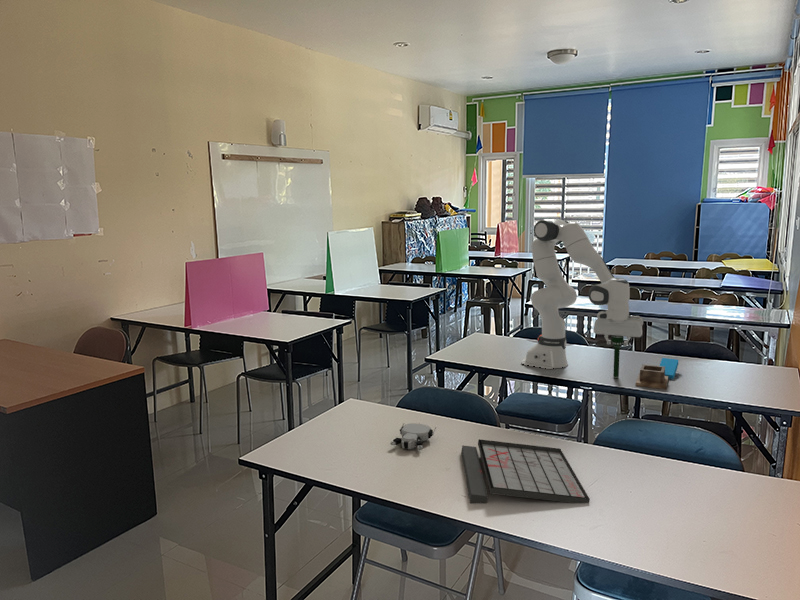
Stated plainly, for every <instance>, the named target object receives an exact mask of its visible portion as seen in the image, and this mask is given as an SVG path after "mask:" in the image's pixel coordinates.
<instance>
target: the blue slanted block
mask: <svg viewBox="0 0 800 600" xmlns="http://www.w3.org/2000/svg"><path fill="white" fill-rule="evenodd" d="M659 366H663V367H665V376H668V378H669V379H668V380H674V378H675V376H676V373H677V370H678V366H679V359H676V358H667V357H666V358H665V357H662V358H661V360H660V363H659Z"/></svg>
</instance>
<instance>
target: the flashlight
mask: <svg viewBox="0 0 800 600" xmlns="http://www.w3.org/2000/svg"><path fill="white" fill-rule="evenodd" d="M610 336H611V337H610V340H611V343H612V345H613V346H614V349H613V350H614V351H613V354H614V355H613V376H612V377H613V379H614V380H619V373H620V349H621V348H620V347H621V346H622V345H623V344H624V341H625V340H624V337H625V336H617V335H610Z"/></svg>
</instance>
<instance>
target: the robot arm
mask: <svg viewBox="0 0 800 600" xmlns="http://www.w3.org/2000/svg"><path fill="white" fill-rule="evenodd" d="M533 235H534V237H535V239H534V240H532V242H531V255H532V261H533V265H534V269H535V273H536V277H537V278H538V279H539V280H540V281H542V282H543V283H544V285H545V286H546V287H542V288H540V289H538V290H535V291H533V293H532V294H531V297H530V299H531V304H532V306H533V308H534V309H535V310H536V311H537V312H538V314H539V316H540V318H541V334H540V335H538V337H537V343H536V344H535V345H533V346H531V347H530V348H528V350H527V351H526V354H525V357H524V358H522V359H521V363H522V364H524V365H523V366H527V365H529V366H528V367H533V366H535V367H534V368H539V367H541V368H540V369H545V368H546V369H545V370H554V369H561V368H562V367H563V368H566V367H568V366H569V363H568V359H567V354H566V348H567V336H566V321H565V319H564V318H562V317H561V315H560V312H559V310H560V309H563V308H568V307H570V306H572V305H573V304H575V303H576V301H577V298H578V294H577V291H576V289H575V288H574V287H573V286H572V285H570V284H568V282H567V281H566V280H565V278H564V276H563V274H562V272H561V269H560V265H559V263H558V259H557V256H556V251H555V246H556V245H560V244H561V243H563V245H564V247H565V249H566V252H567V255H568V256H569V258H570V259H571V260H572V261H573V262H575V263H577V264H580V265H583V266H586V267H589V268H590V269H591V270H592V271H593V272H594V273H595V275H596V277H597V278H598V280H599V281H600V283H598V284H595V285H592V286H591V287H590V288H589V289H588V290H589V291H588V299H589V302H591V304H592V305H594V306H604V305H606V306H607V309H606V310H601V311H599V312H598V313H597V314H596V319H595V320H594V324H593V325H594V326H593V332H594V334H595V335H604V336H603V337H604V339H605V340H606V345H611V343H612V341H611V339H609V336H612V335H617V336H623V337H626V339H627V340H626V341H625V340H623V347H625V346H626V347H628V345H629V341H630V340H631V337H632V338H641V337H642V336H643V325H644V318H643V317H642V316H640V315H631V314H630V306H629V304H630V303H629V302H630V298H631V297H630V296H631V291H630V290H631V289H630V288H631V287H630V284H629V281H628V280H627V279H624V278H621V277H615V276H614V274H613V273H612V271H611V269H610V268H609V265H608V264H607V263H606V262H605V260H604V258H603V257H602V256H601V254H600V253H598V252H597V250H596V249H595V247H594V246H593V244H592V242H591V241H590V239H589V237H588V235H587V233H586V231H585V230H584V229H583V227H582V226H581V225H580V224H579V223H578V222H576V221H570V222H569V221H567V220H565V219H559V218H544V219H541V220H538V221H537V222H536V223H535V225H534V226H533ZM521 363H520V364H521ZM522 364H521V365H522ZM553 368H554V369H553ZM563 368H562V369H563Z"/></svg>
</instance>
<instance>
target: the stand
mask: <svg viewBox="0 0 800 600" xmlns="http://www.w3.org/2000/svg"><path fill="white" fill-rule="evenodd" d="M668 382H669V379H668V376H665V367H663V366H660V365H651V364H641V366H640V369H639V373H638V376H637V379H636V380H635V387H642V388H651V389H658V390H659V389H661V390H667V387H668Z"/></svg>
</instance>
